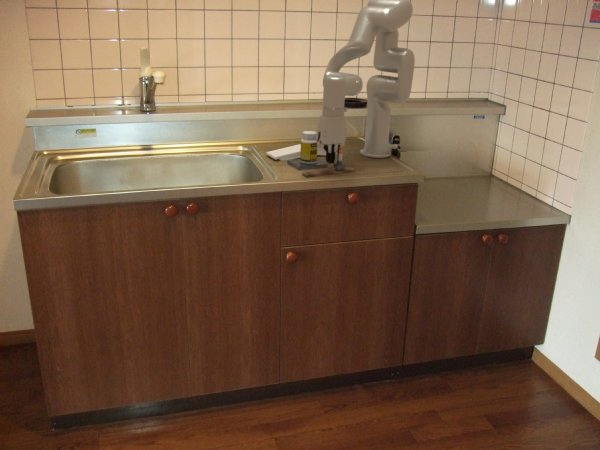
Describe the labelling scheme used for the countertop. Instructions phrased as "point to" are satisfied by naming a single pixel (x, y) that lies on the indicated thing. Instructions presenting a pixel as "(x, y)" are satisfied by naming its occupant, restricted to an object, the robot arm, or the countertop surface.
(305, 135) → the supplement bottle
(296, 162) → the press bed
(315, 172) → the lever rail
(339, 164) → the press lever
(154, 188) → the countertop surface
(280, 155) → the wall bracket
